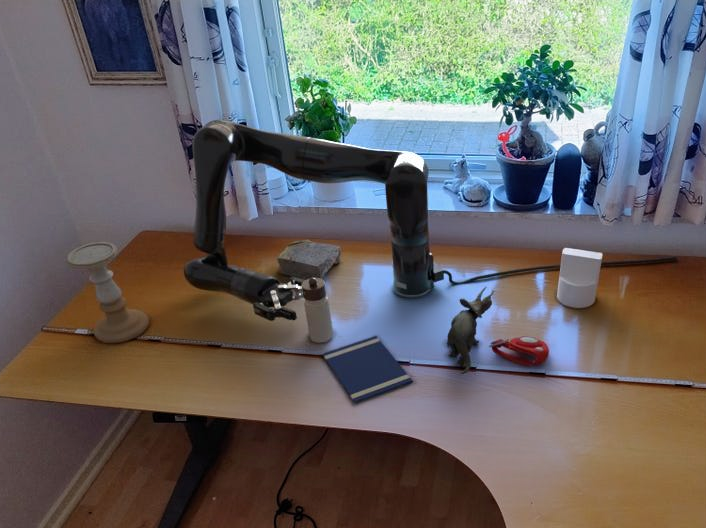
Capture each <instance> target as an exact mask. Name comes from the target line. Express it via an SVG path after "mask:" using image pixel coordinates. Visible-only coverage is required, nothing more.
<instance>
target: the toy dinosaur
mask: <svg viewBox="0 0 706 528" xmlns="http://www.w3.org/2000/svg"><path fill="white" fill-rule="evenodd" d="M486 289H487V286H485V287H484V288H482V289H481V290H480V292H479V293H478V294H477V296H476V298H475V299H474V300H472V301H468V300H467V299H465V298H460V299H459V303H460V305H461V306H462V307H463V308H466V309H463V310H460V311H459V313H458V314H457V315H455V316H454V317H453V318H452V319H451V323H450V328H449V331H448V333H447V336H446V339H447V341H446V345H447V346H448V347H449V348H450V351H449V353H448V355H447V356H448V357H450V358H453V359H455V358H458V356H459V355H460V357H459V358H458V359H457V361H456V364H457V366H459V367H460V368H463V371H461V372H460V375H464V374H467V373H468V372H470V370H471V367H472V361H471V355H470V353H471V350H472V348H473V347H478V346H479V343H480V340H478V339H477V338H476V337H475V336H476V334H477V326H478V323H477V322H478V321H477V319H482V318H483V316H482V315H484V314H485V313H486V312H487V311H488V310H489V309H490V308H491V307H492V305H493V300H492V296H493V295H494V292H495V290H492V292H491V293H490V294H488V295H487V296H485V297H483V299H482V295H483V293H484V292H485V290H486Z"/></svg>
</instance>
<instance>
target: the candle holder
mask: <svg viewBox="0 0 706 528" xmlns="http://www.w3.org/2000/svg"><path fill="white" fill-rule="evenodd" d="M118 254H119V248H118V247H117V245H116V244H115V243H112V242H109V241H97V242H90V243H87V244H83V245H81V246H77V247H76V248H74V249H73V250H71V251H70V252H69V253H68V254H67V256H66V259H65V260H66V263H67V264H68V266H70V267H71V268H73V269H78V270H86V269H87V270H89V272H90V275H89V277H88V281H89V282H91V283H93V284H94V289H95V292H94V293H95V299H96V301H98V302H99V306H98V308H99V310H100V312H103V313H104V316H103V317H102V318H100V319H99V320H98V321H97V322H96V323H95V325H94V327H93V335H94V337H95V338H96V340H98V341H99V342H101V343H105V344H119V343H124V342H127V341H130V340H132V339H135V338H137V337H139V336H140V335H142V334H143V333H144V332H145V331H146V330H147V329H148V327H149V325H150V319H149V316H148V314H146V312H144V311H142V310H139V309H133V308H132V309H131V308H126V305H127V299H126V298H125V297H123V296H122V295H123V293H122V289H121V288H120V287H119V286H118V284H117V283H116V282H115V280H114V279H113V277H114V272H113V271H112V270H111V269H108V267H107V264H108V263H110V262H111V261H113V260H115V258H116V257H117V256H118Z"/></svg>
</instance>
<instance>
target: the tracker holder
mask: <svg viewBox="0 0 706 528" xmlns="http://www.w3.org/2000/svg"><path fill="white" fill-rule="evenodd" d="M488 347H489V348H491V350H492V352H493V353H494V354H496V355H498V356H500V357H502V358H504V359H507V360H510V361H512V362H516V363H519V364H521V365H524V366H528V367H530V366H540V365H542V364H544V363H545V362H546V361H547V359H548V358H549V355H550V349H549V346H548V344H547V343H546V342H544V341H542V340H540V339H538V338H535V337H532V336H520V337H514V338H511V339H510V338H506V339H502V338H499V339H496V340H493V341H491V342H490V345H488ZM502 347H503V348H505V349H507V350H509V351H510V350H511V351H515V352H519V353H523V354H527V355H530V356H532V357H534V358H536V359H535V360H534V361H531V360H529V359H526V358H523V357H520V356H517V355H514V354H511V353H508V352H505V351H504V350H501V349H502ZM500 348H501V349H500Z"/></svg>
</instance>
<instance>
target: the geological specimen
mask: <svg viewBox="0 0 706 528" xmlns="http://www.w3.org/2000/svg"><path fill="white" fill-rule="evenodd" d="M341 249H342V248H341V246H339V245H334V244H328V243H324V242H323V243H322V242H316V241H310V240H309V239H305V240H297V241H293V242H291V243H290V244H289V245H287V246H286V247H285V249H284V250H283V251H282V252H281V253H280V254H279V255H278V257H277V260H276V261H277V263H278V265H279V267H280V268H281V269H280V271H279V274H282V275H286V276H290V277H296V278H299V279H303V280H307V279H310V278H320V279H323V278H324V276H325V275H326V274H327V273H328V272H329V270H330V269H331V268H332V267H333V265H334V266H336V265H338V264H340V263H341V256H342V251H341Z"/></svg>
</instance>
